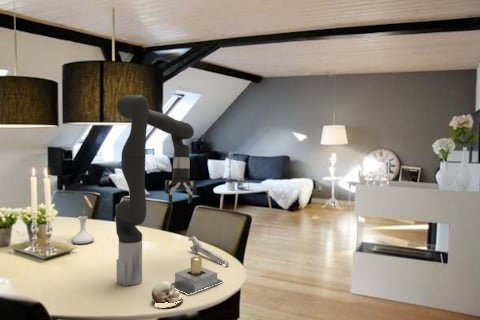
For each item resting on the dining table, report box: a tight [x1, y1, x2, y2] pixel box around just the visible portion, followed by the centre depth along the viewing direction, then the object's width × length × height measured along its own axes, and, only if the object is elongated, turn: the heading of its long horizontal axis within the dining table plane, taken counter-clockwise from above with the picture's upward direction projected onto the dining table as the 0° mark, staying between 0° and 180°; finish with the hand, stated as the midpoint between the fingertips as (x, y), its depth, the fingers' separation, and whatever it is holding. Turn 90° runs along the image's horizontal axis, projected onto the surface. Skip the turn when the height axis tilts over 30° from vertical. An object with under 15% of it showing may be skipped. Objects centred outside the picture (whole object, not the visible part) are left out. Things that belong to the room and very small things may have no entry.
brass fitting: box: [190, 256, 203, 277], centre depth 163 cm, size 4×4×10 cm
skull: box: [151, 280, 184, 307], centre depth 147 cm, size 12×10×10 cm
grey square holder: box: [171, 267, 223, 294], centre depth 163 cm, size 18×12×5 cm, turn 137°
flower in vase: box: [71, 195, 95, 245], centre depth 217 cm, size 13×11×25 cm
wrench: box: [188, 235, 230, 267], centre depth 195 cm, size 8×2×30 cm
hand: (180, 203), depth 184 cm, fingers open, 8 cm apart
